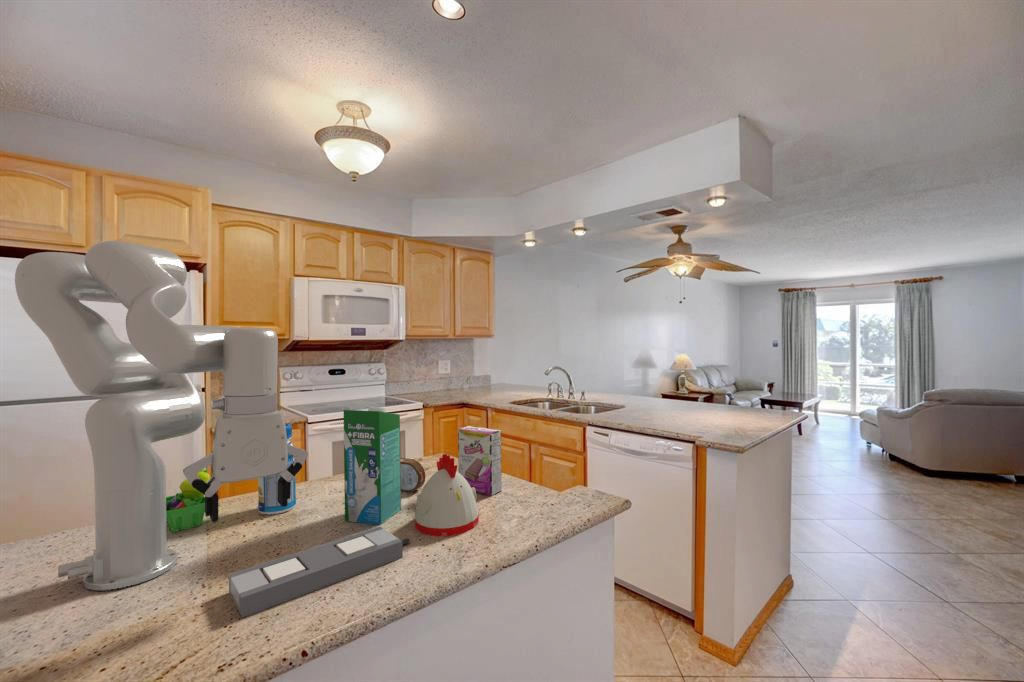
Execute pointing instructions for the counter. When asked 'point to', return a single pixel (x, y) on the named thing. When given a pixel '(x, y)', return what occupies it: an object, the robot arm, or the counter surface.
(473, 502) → the kitchen timer
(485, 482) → the candy bar box
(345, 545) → the outlet button
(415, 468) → the tin
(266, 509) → the beverage bottle
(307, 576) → the power strip
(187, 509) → the fruit basket
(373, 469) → the milk carton
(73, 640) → the counter surface
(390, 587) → the counter surface
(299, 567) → the outlet button
